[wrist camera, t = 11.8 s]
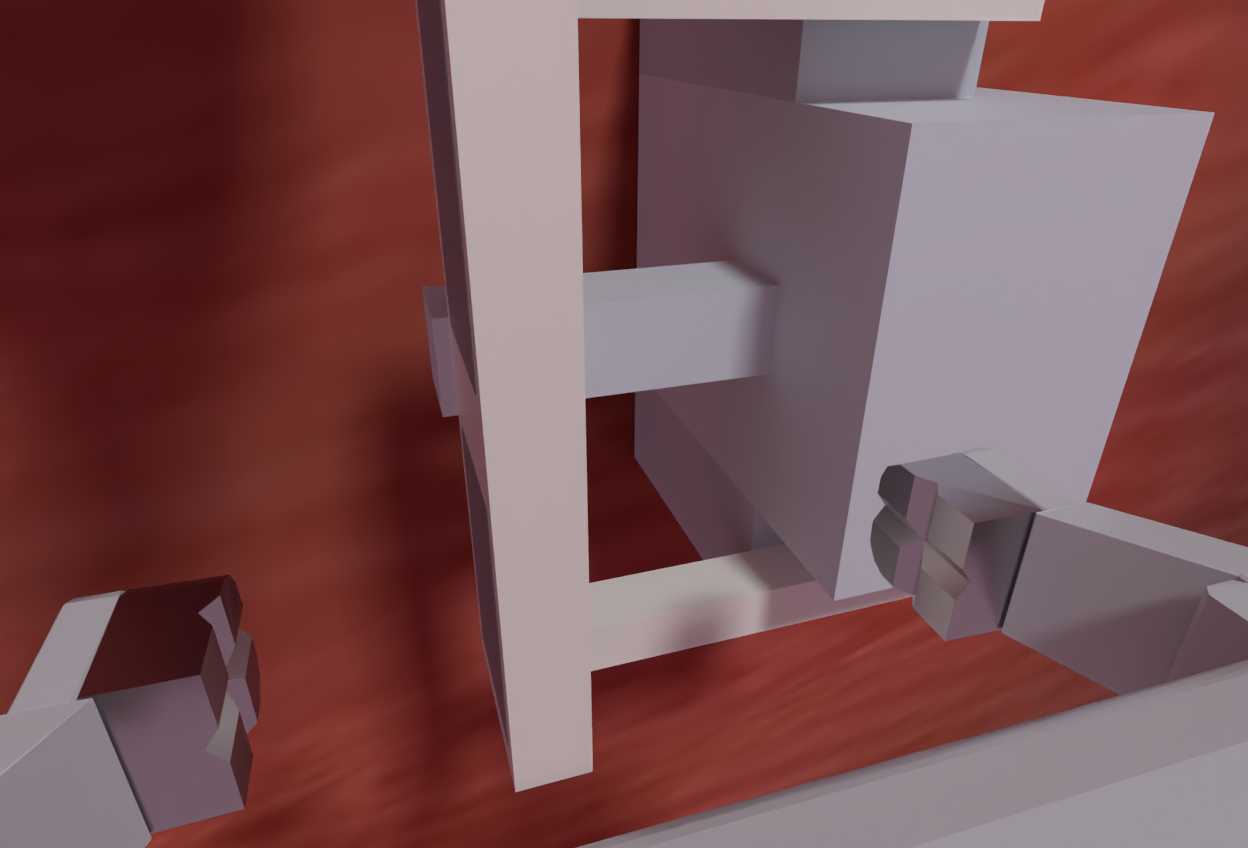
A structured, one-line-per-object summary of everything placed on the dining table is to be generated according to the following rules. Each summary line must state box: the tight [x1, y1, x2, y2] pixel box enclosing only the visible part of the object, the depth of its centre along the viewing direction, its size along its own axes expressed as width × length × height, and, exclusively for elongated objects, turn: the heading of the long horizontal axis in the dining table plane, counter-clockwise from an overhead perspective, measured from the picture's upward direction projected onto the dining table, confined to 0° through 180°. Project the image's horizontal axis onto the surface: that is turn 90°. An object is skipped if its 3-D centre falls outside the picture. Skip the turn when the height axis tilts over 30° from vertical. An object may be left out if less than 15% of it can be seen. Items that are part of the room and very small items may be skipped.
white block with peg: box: [422, 19, 1214, 601], centre depth 19 cm, size 13×16×12 cm
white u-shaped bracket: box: [415, 0, 1045, 792], centre depth 14 cm, size 10×14×4 cm
